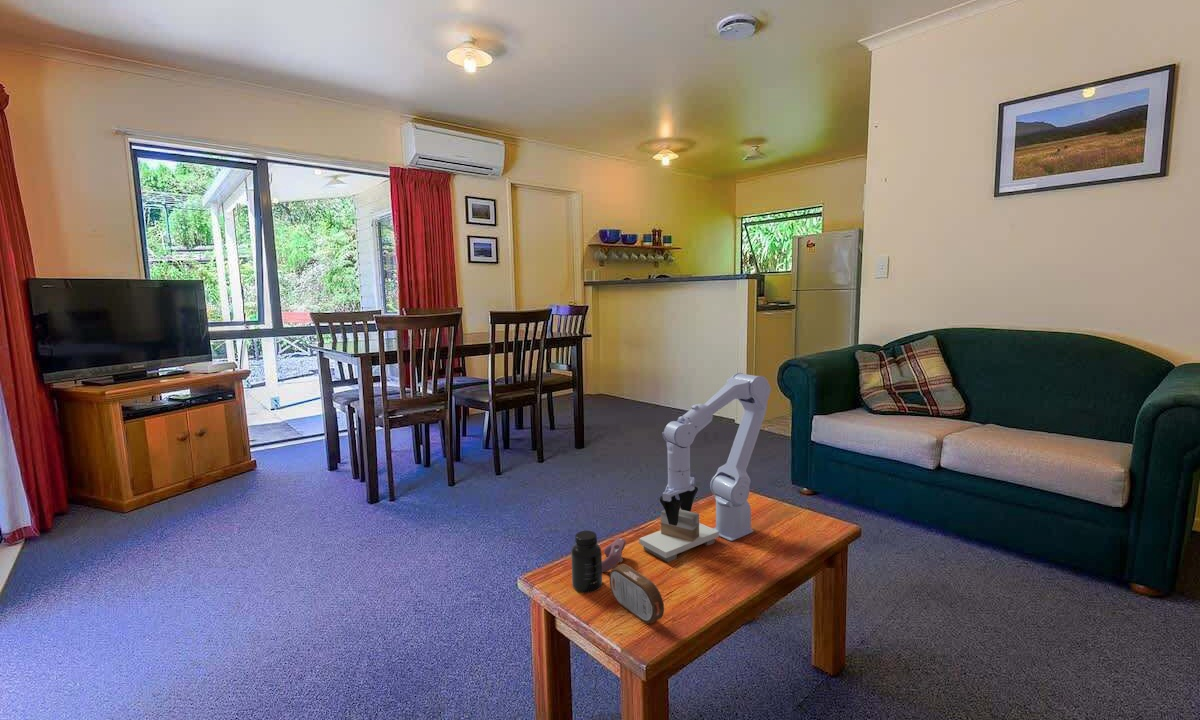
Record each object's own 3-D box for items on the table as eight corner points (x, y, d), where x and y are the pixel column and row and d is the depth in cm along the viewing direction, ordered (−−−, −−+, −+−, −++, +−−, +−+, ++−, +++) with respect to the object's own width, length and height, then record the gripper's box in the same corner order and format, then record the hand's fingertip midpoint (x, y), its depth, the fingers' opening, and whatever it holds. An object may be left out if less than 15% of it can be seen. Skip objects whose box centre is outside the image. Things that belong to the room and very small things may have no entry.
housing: (668, 528, 140) (667, 506, 139) (699, 535, 135) (699, 513, 134) (661, 533, 137) (660, 511, 136) (692, 541, 132) (692, 518, 131)
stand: (691, 529, 146) (691, 519, 146) (718, 542, 138) (718, 531, 138) (639, 549, 135) (639, 538, 135) (666, 564, 127) (665, 552, 126)
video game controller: (612, 580, 123) (625, 556, 122) (595, 571, 123) (607, 546, 122) (619, 560, 133) (631, 537, 131) (603, 551, 133) (614, 528, 132)
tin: (665, 627, 102) (664, 586, 101) (653, 633, 100) (652, 591, 100) (618, 593, 114) (618, 557, 114) (607, 598, 113) (606, 561, 112)
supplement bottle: (567, 582, 119) (565, 532, 118) (593, 574, 123) (592, 525, 121) (580, 597, 113) (579, 544, 112) (608, 588, 117) (606, 536, 115)
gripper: (680, 479, 126) (681, 533, 127) (704, 463, 138) (705, 512, 139) (654, 474, 130) (655, 526, 131) (680, 459, 142) (681, 507, 143)
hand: (679, 519), depth 136 cm, fingers open, 7 cm apart
